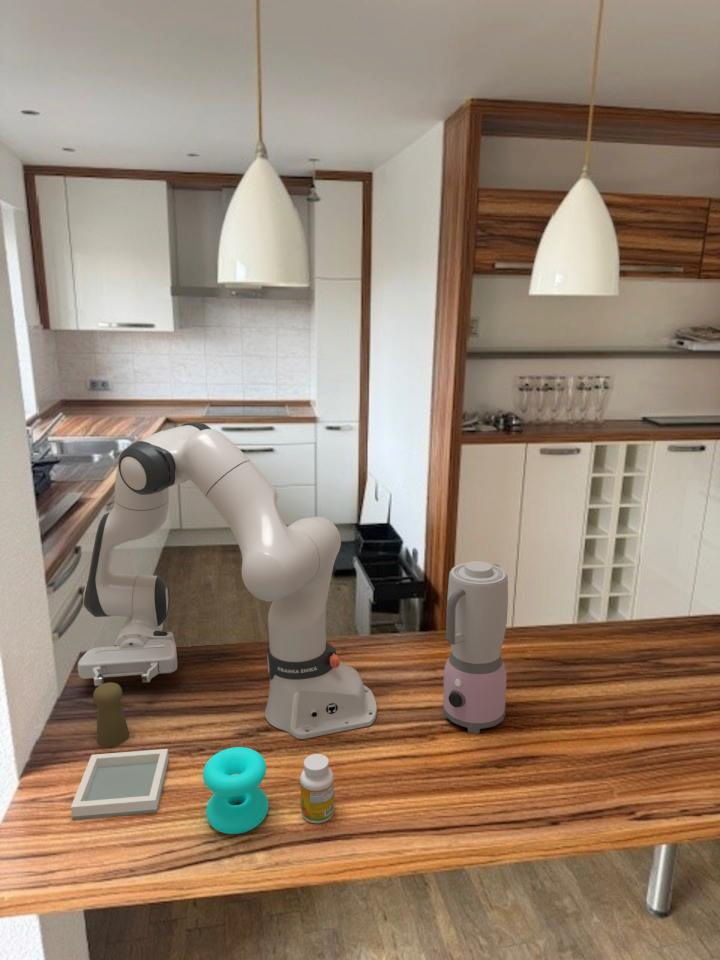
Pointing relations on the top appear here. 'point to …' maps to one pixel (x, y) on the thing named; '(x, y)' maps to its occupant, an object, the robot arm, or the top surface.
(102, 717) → the olive brown pawn
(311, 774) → the supplement bottle
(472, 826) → the top surface
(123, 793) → the picture frame
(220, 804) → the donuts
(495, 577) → the blender
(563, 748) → the top surface
